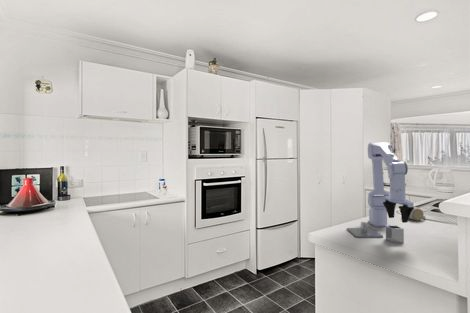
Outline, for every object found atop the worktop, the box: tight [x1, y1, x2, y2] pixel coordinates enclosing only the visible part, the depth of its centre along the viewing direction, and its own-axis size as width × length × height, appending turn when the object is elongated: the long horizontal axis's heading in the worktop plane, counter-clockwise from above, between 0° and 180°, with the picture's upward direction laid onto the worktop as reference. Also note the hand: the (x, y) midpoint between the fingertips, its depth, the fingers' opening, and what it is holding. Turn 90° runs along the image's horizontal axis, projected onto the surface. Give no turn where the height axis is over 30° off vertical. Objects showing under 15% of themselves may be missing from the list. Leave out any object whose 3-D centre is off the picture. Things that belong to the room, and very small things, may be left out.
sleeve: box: [385, 224, 405, 244], centre depth 114 cm, size 5×5×6 cm
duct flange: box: [346, 221, 384, 239], centre depth 124 cm, size 12×12×5 cm
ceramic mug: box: [408, 205, 426, 222], centre depth 146 cm, size 11×8×8 cm
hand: (397, 219), depth 113 cm, fingers open, 7 cm apart
